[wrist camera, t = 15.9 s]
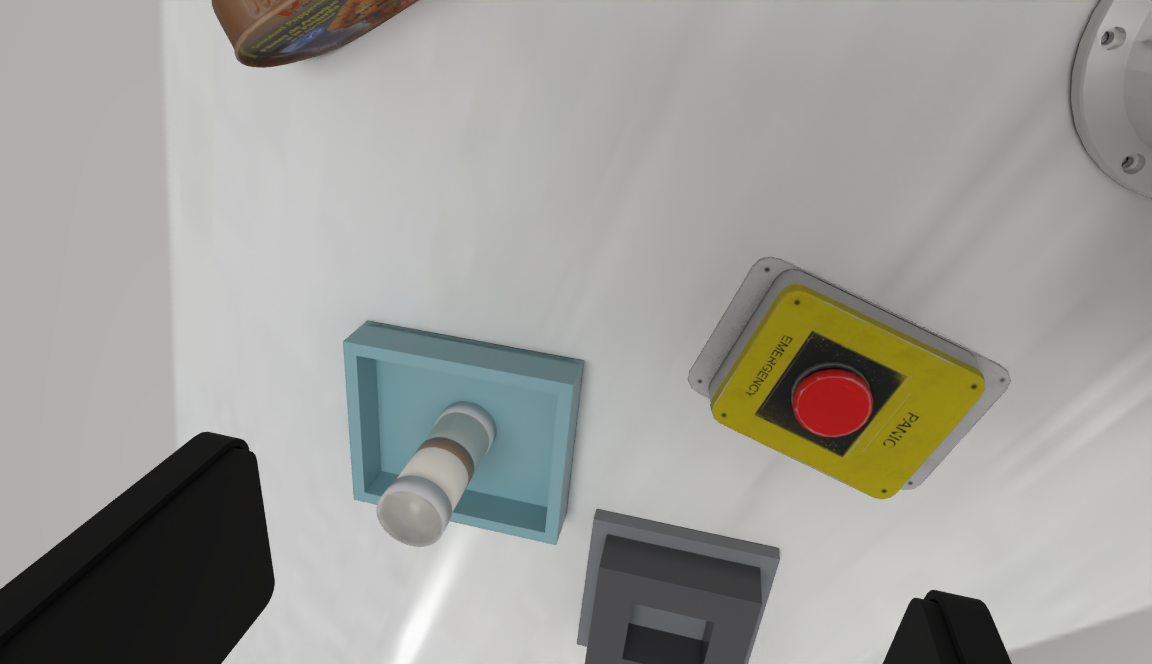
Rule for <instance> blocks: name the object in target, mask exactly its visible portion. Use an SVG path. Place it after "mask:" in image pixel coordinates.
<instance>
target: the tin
mask: <svg viewBox="0 0 1152 664" xmlns="http://www.w3.org/2000/svg"><path fill="white" fill-rule="evenodd" d="M416 1H418V0H212V6H213V9H214V12H215V14H216V16H217V18H218V20H219V22H220V24H221V26H222V28H223V30H224V31H225V33H226V35H227V37H228V38H229V40H230V42H231V44H232V46H233V48H234V50H235V56H236V58H237V60H238V61H239V62H241V63H242V64H244V65H246V66H251V67H263V68H264V67H273V66H280V65H285V64H290V63H294V62H297V61H301V60H305V59H308V58H312V57H315V56H318V55H321V54H324V53H327V52H329V51H332V50H334V49H336V48H339V47H341V46H343V45H345V44H347V43H349V42H351V41H353V40H355V39H357V38H358V37H360V36H362V35H364V34H366V33H367V32H369V31H371V30H372V29H374V28H376V27H377V26H379V25H380V24H382V23H383V22H385V21H387V20H388V19H390V18H391V17H393V16H394V15H396V14H397V13H399V12H401V11H402V10H404V9H405V8H407V7H408V6H410V5H412V4H413V3H415V2H416Z"/></svg>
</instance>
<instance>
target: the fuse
mask: <svg viewBox="0 0 1152 664" xmlns="http://www.w3.org/2000/svg"><path fill="white" fill-rule="evenodd" d="M496 434H497V428H496V424H495V421H494V419H493V418H492V416H491V415H490V414H489V412H488V411H487V410H485V409H484V408H483V407H481V406H479V405H478V404H475V403H472V402H468V401H459V402H455V403H452V404H450V405H449V406H447V407H446V408H445V410H444V411H443V412H442V414H441V415H440V417H439V418H438V419H437V421H436V423H435V425H434V428H433V429H432V430H431V432H430V433H429V435H428V436H427V437H426V439H425V440H424V441H423V443H422V444H421V445H420V446H419V448H418V449H417V451H416V452H415V453H414V455H413V456H412V458H411V460H410V461H409V462H408V464H407V465H406V466H405V468H404V469H403V471H402V472H401V473H400V475H399V476H398V478H397V479H396V480H394V481H393V482H392V483H391V484H390V486H389V487H388V488H387V490H386V491H385V492H384V494H383V495H382V497H381V498H380V500H379V501H378V504H377V517H378V520H379V522H380V524H381V526H382V527H383V528H384V530H385V531H386V532H387V533H388V534H389V535H390V536H392V537H393V538H394V539H396V540H398V541H399V542H401V543H404V544H407V545H410V546H416V547H423V546H428V545H431V544H433V543H435V542H437V541H438V540H439V539H440V537H441V536H442V534H443V532H444V530H445V529H446V527H447V525H448V523H449V521H450V519H451V516H452V512H453V510H454V509H455V507H456V505H457V503H458V501H459V500H460V498H461V496H462V494H463V493H464V491H465V489H466V488H467V486H468V484H469V483H470V481H471V479H472V477H473V475H474V473H475V471H476V469H477V468H478V466H479V464H480V462H481V460H482V459H483V457H484V456H485V455H486V454H487V453H488V451H489V449H490V447H491V446H492V444H493V442H494V440H495V438H496Z"/></svg>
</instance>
